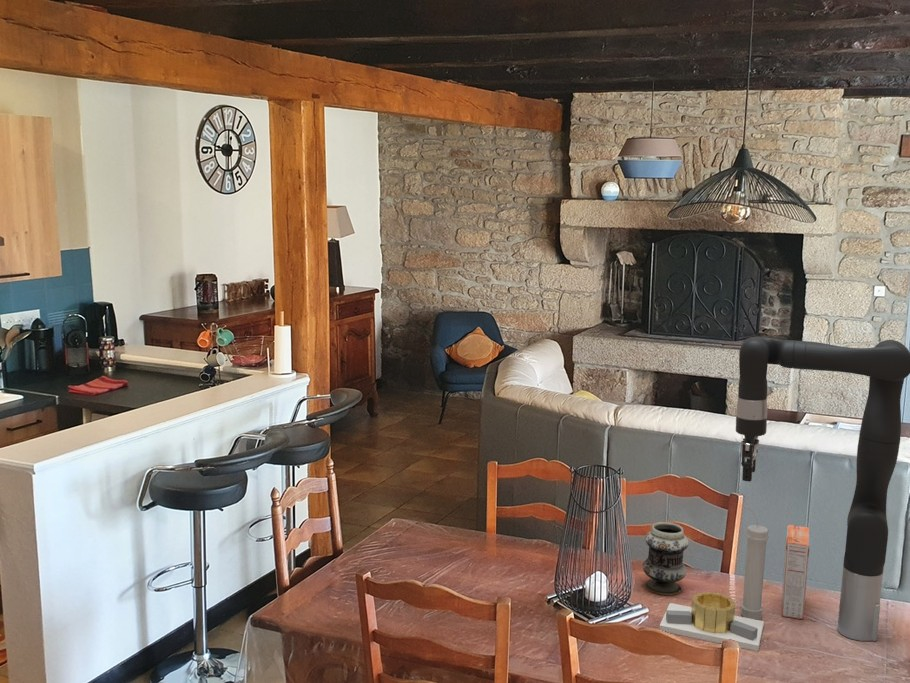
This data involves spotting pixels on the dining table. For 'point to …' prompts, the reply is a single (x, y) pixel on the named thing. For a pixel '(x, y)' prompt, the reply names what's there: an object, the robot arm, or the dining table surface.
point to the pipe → (754, 571)
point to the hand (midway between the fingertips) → (748, 476)
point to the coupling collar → (712, 612)
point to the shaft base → (740, 631)
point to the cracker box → (795, 572)
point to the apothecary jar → (665, 558)
